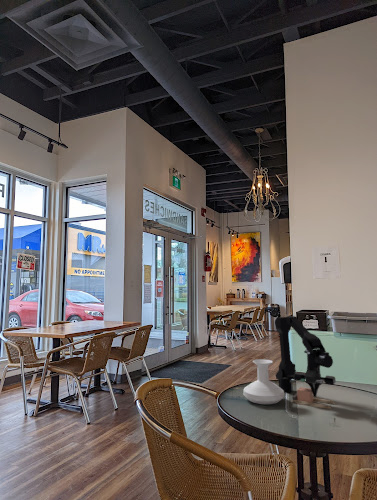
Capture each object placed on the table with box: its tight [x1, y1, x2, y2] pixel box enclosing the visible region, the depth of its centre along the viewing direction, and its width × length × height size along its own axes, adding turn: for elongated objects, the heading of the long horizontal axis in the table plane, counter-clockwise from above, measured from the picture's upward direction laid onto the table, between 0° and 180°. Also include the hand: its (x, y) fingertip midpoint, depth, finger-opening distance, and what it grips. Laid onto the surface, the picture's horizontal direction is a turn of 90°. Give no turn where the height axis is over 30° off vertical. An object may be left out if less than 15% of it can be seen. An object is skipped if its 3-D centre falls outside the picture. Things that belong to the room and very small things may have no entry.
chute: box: [291, 392, 335, 410], centre depth 177 cm, size 18×9×3 cm, turn 57°
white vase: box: [242, 358, 285, 405], centre depth 183 cm, size 20×20×19 cm
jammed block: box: [296, 386, 314, 403], centre depth 179 cm, size 6×6×6 cm
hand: (315, 396), depth 176 cm, fingers closed
